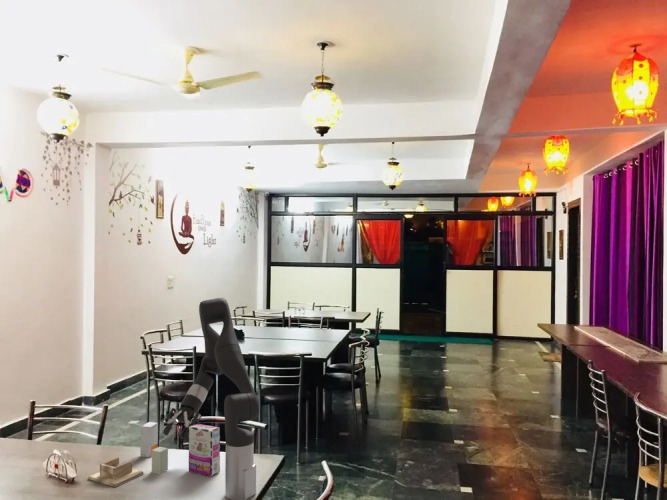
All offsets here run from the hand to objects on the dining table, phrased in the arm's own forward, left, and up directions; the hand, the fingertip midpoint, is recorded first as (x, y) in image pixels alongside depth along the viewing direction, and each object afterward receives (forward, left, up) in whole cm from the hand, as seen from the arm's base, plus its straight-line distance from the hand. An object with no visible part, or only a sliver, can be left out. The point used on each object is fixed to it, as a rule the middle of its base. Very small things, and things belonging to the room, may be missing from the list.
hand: (173, 436), depth 199 cm
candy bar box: (-15, 0, -11) cm, 19 cm away
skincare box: (+16, -3, -11) cm, 20 cm away
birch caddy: (+10, +18, -11) cm, 23 cm away
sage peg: (0, +7, -11) cm, 13 cm away
